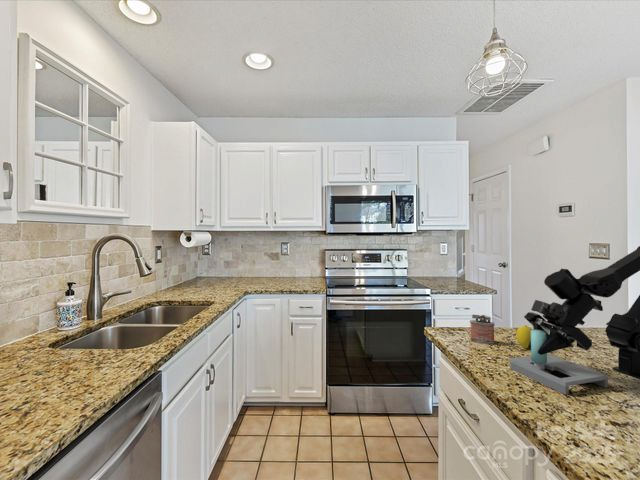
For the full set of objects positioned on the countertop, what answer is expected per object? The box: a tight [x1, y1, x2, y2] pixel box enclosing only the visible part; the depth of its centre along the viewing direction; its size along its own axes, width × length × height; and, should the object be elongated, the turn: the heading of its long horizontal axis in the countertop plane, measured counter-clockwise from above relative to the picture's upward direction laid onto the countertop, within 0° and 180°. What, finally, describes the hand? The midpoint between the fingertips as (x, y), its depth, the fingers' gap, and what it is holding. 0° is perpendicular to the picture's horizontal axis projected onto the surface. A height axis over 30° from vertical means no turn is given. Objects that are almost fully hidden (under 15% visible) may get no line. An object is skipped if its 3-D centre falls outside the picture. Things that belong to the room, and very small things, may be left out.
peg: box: [530, 329, 550, 374], centre depth 87 cm, size 4×4×12 cm
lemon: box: [515, 324, 533, 349], centre depth 108 cm, size 6×6×8 cm
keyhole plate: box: [509, 353, 609, 396], centre depth 86 cm, size 14×16×3 cm
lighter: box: [469, 314, 496, 346], centre depth 115 cm, size 8×3×10 cm, turn 58°
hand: (534, 351), depth 87 cm, fingers closed on peg, 4 cm apart
